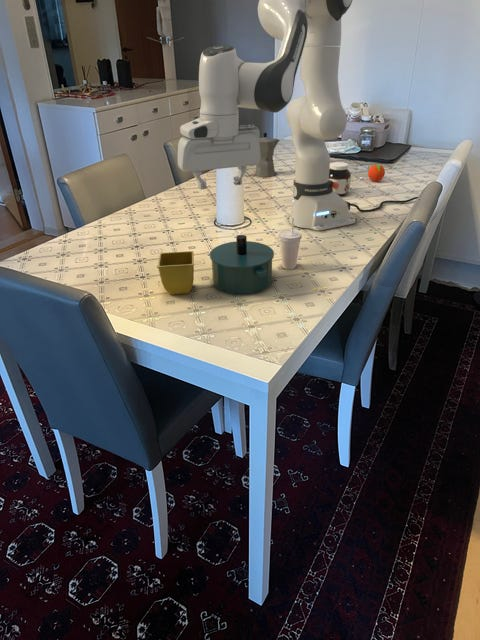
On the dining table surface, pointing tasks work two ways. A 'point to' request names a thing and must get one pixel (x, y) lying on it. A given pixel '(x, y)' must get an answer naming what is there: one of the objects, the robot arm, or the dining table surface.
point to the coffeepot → (266, 156)
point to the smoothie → (289, 246)
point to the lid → (241, 254)
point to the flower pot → (177, 271)
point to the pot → (242, 279)
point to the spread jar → (340, 177)
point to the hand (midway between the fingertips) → (220, 186)
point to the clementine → (376, 172)
